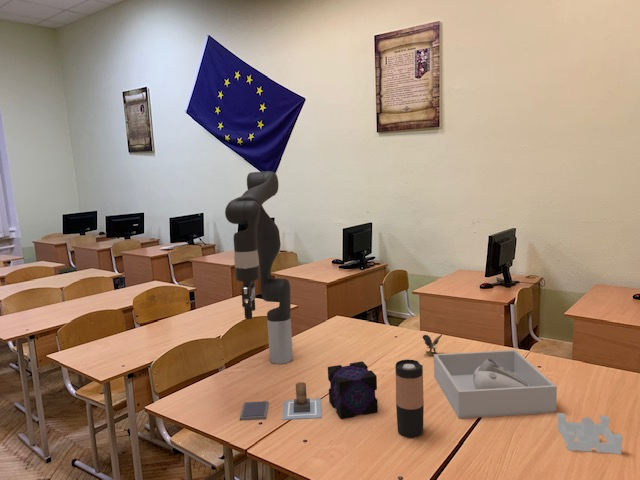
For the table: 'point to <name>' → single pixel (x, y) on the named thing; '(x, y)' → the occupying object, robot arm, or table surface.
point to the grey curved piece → (496, 377)
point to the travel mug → (409, 398)
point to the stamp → (301, 399)
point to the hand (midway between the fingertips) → (250, 314)
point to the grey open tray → (472, 402)
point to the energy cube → (352, 390)
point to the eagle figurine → (431, 344)
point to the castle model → (589, 435)
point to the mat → (314, 412)
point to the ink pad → (254, 410)
